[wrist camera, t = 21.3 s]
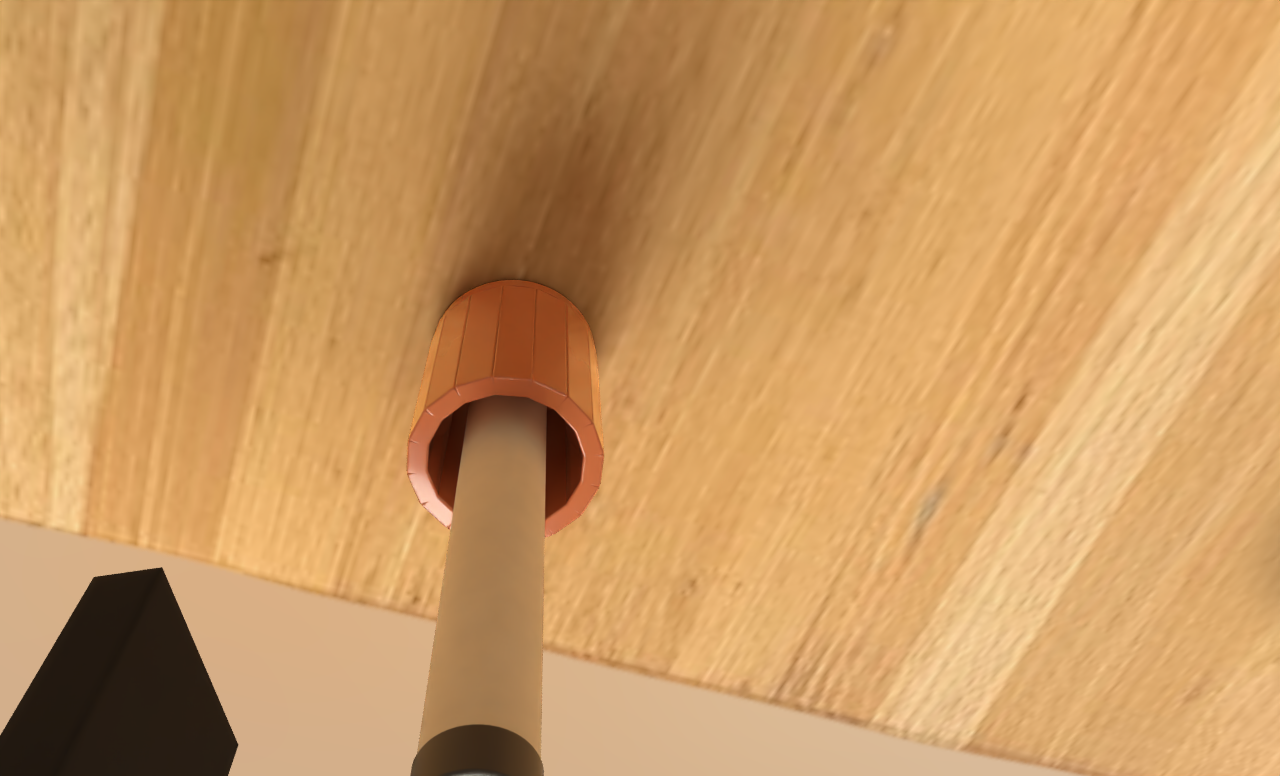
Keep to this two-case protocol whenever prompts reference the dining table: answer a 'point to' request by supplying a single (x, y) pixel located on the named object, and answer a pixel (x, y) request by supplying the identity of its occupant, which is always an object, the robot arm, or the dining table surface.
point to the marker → (491, 602)
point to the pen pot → (510, 392)
